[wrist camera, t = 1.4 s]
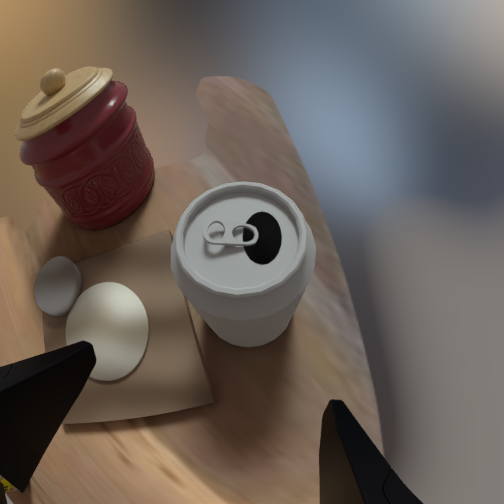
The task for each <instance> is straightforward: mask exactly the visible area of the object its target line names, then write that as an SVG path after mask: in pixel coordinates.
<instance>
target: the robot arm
mask: <svg viewBox="0 0 504 504" xmlns="http://www.w3.org/2000/svg"><path fill="white" fill-rule="evenodd" d="M95 365H96V355H95V351H94V348H93V345H92V344H91V343H89V342H87V341H84V340H83V341H79V342H76V343H74V344H71V345H68V346H65V347H62V348H59V349H56V350H53V351H50V352H46V353H43V354H40V355H37V356H34V357H31V358H28V359H25V360H22V361H18V362H15V363H14V364H13V363H12V364H9V365H5V366H2V367H0V504H7V500H6V497H5V491H4V486H3V483H2V482H1V480H2V479H3V478H4V479H5V480H7V481H8V482H9V483H10V484H11V485H13V486H14V487H15V488H16V489H18V490H19V491H20V492H22V493H23V492H24V491H25V489H26V487H27V485H28V483H29V481H30V479H31V477H32V475H33V473H34V471H35V469H36V467H37V466H38V464H39V462H40V460H41V458H42V456H43V454H44V453H45V451H46V449H47V447H48V446H49V444H50V442H51V440H52V439H53V437H54V435H55V434H56V432H57V430H58V429H59V427H60V425H61V424H62V422H63V420H64V419H65V417H66V416H67V414H68V412H69V411H70V409H71V408H72V406H73V404H74V403H75V401H76V400H77V398H78V397H79V395H80V393H81V392H82V390H83V388H84V386H85V384H86V382H87V380H88V378H89V376H90V374H91V372H92V370H93V368H94V367H95ZM319 476H320V504H423V503H422V502H421V501H420V500H419V499H418V498H417V497H416V496H415V495H414V494H413V493H412V492H411V491H410V490H409V489H408V488H407V486H406V485H405V484H404V483H403V482H402V480H401V479H400V478H399V477H398V475H397V474H396V473H395V471H394V470H393V469H391V466H390V465H389V464H388V462H387V461H386V459H385V458H384V457H383V455H382V454H381V453H380V451H379V450H378V449H377V447H376V446H375V445H374V443H373V442H372V441H371V439H370V438H369V436H368V435H367V434H366V432H365V431H364V430H363V428H362V427H361V425H360V424H359V423H358V421H357V420H356V419H355V417H354V416H353V414H352V413H351V412H350V410H349V409H348V408H347V406H346V405H345V403H344V402H343V401H342V400H334V399H332V400H330V401H329V403H328V405H327V407H326V409H325V411H324V413H323V417H322V427H321V439H320V450H319Z"/></svg>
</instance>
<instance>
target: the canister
mask: <svg viewBox="0 0 504 504" xmlns="http://www.w3.org/2000/svg"><path fill="white" fill-rule="evenodd" d="M112 77H113V72H112V70H111V69H108V68H95V67H92V66H91V67H85V68H81V69H78V70H76V71H73V72H71V73H69V74H67V75H65V74H64V72H63V71H62V70H60V69H58V68H54V69H51V70H49V71H48V72H46V73H45V74H44V75H43V77H42V79H41V82H40V87H41V90H42V91H41V92H40V93H39V94H38V95H37V96H36V97H35V98H34V99H33V100H32V101H31V102H30V103H29V104H28V105H27V107H26V108H25V109H24V111H23V112H22V115H21V120H20V122H19V124H18V126H17V129H16V131H15V136H16V138H17V139H18V140H20V141H23V143H22V145H21V148H20V159H21V161H22V162H23V163H24V164H26V165H31V166H32V167H33V169H34V170H35V171H34V172H35V179H36V181H37V182H38V184H40V185H41V186H43V187H44V188H45V190H46V191H47V192H48V193H49V195H50V196H51V197H52V198H53V199H54V201H55V202H56V203H57V204H58V205H59V207H60V208H61V210H62V212H63V214H64V215H65V216H66V217H67V218H68V219H69V220H70V221H71V222H72V223H74V224H76V225H77V226H79V227H81V228H83V229H87V230H98V229H103V228H106V227H109V226H112V225H114V224H116V223H118V222H120V221H121V220H123V219H124V218H126V217H127V216H129V215H130V214H131V213H132V212H133V211H135V210H136V209H137V208H138V207H139V206H140V204H141V203H142V202H143V201H144V200H145V198H146V197H147V195H148V194H149V192H150V190H151V188H152V185H153V182H154V176H155V172H154V164H153V158H152V156H151V153H150V151H149V149H148V148H147V147H146V144H145V142H144V139H143V137H142V134H141V132H140V129H139V126H138V123H137V121H136V113H135V111H134V109H133V108H132V107H130V106H128V105H127V103H126V97H127V93H128V90H127V87H126V85H125V84H123V83H121V82H118V81H111V80H112Z"/></svg>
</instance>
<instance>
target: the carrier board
mask: <svg viewBox="0 0 504 504" xmlns="http://www.w3.org/2000/svg"><path fill="white" fill-rule="evenodd" d="M172 242H173V236H172V234H171V232H170V230H167V231H164V232H161V233H158V234H155V235H152V236H149V237H146V238H143V239H140V240H137V241H134V242H131V243H128V244H125V245H122V246H119V247H117V248H114V249H111V250H108V251H105V252H103V253H100V254H97V255H94V256H92V257H89V258H86V259H84V260H81V261H78V262H76V263H73V262H72V261H70V260H69V259H68V258H66V257H64V256H57V257H54V258H52V259H50V260H49V261H48V262H47V263H46V264H45V265H44V266H43V267H42V269H41V270H40V272H39V274H38V276H37V279H36V282H35V288H34V295H35V300H36V303H37V305H38V307H39V308H40V309H41V310H42V311H43V328H44V342H45V352H50V351H53V350H56V349H59V348H62V347H65V346H68V345H71V344H74V343H76V342H79V341H83V340H84V341H87V342H89V343H91V344H92V345H93V348H94V351H95V355H96V365H95V367H94V368H93V370H92V372H91V374H90V376H89V378H88V380H87V382H86V384H85V386H84V388H83V390H82V392H81V393H80V395H79V397H78V398H77V400H76V401H75V403H74V404H73V406H72V408H71V409H70V411H69V412H68V414H67V416H66V417H65V419H64V420H63V422H62V424H72V423H92V422H105V421H115V420H124V419H132V418H139V417H146V416H152V415H158V414H164V413H169V412H174V411H179V410H184V409H188V408H193V407H197V406H202V405H206V404H210V403H214V402H217V400H216V397H215V394H214V391H213V388H212V385H211V382H210V379H209V375H208V372H207V369H206V366H205V363H204V359H203V356H202V353H201V349H200V346H199V342H198V339H197V335H196V332H195V328H194V324H193V321H192V317H191V313H190V309H189V306H188V302H187V298H186V297H185V295H184V294H183V293H182V291H181V290H180V289H179V287H178V285H177V283H176V280H175V277H174V275H173V272H172V269H171V245H172Z"/></svg>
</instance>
